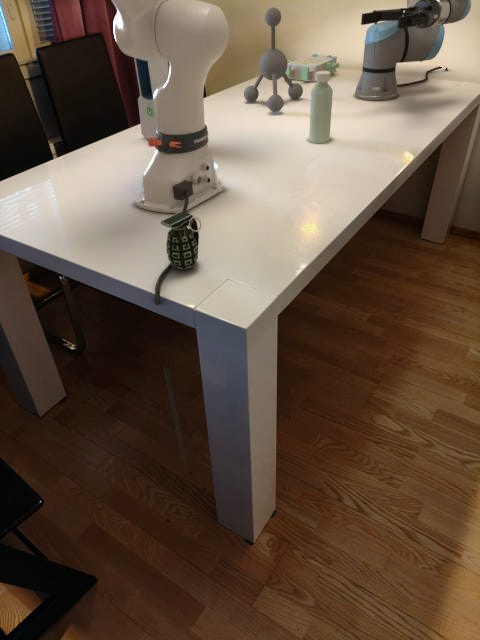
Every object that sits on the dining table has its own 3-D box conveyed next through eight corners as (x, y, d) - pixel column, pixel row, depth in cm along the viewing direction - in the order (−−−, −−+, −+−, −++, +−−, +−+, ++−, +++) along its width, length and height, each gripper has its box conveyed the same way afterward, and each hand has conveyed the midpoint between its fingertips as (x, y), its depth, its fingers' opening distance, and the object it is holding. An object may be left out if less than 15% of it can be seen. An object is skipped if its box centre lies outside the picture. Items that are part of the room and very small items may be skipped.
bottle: (333, 138, 145) (337, 72, 134) (323, 144, 141) (327, 77, 130) (315, 135, 148) (318, 70, 137) (305, 141, 144) (307, 75, 133)
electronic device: (141, 137, 154) (123, 28, 136) (159, 131, 158) (144, 24, 140) (166, 145, 147) (151, 30, 129) (185, 138, 151) (172, 26, 133)
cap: (332, 79, 135) (333, 71, 134) (325, 82, 132) (325, 74, 131) (319, 77, 137) (319, 70, 136) (312, 80, 134) (312, 73, 133)
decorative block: (305, 52, 220) (345, 55, 211) (304, 68, 224) (344, 71, 215) (274, 63, 204) (317, 66, 195) (274, 80, 208) (316, 84, 199)
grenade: (182, 278, 88) (175, 228, 82) (162, 268, 91) (153, 219, 85) (208, 263, 92) (203, 214, 85) (187, 253, 95) (181, 205, 89)
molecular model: (322, 103, 175) (328, 5, 157) (274, 116, 166) (273, 12, 147) (282, 92, 191) (282, 1, 172) (235, 103, 181) (230, 8, 163)
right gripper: (463, 30, 140) (413, 40, 130) (395, 24, 156) (347, 32, 147) (469, -1, 135) (418, 7, 126) (398, -4, 152) (349, 3, 142)
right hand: (380, 21), depth 136 cm, fingers open, 13 cm apart
